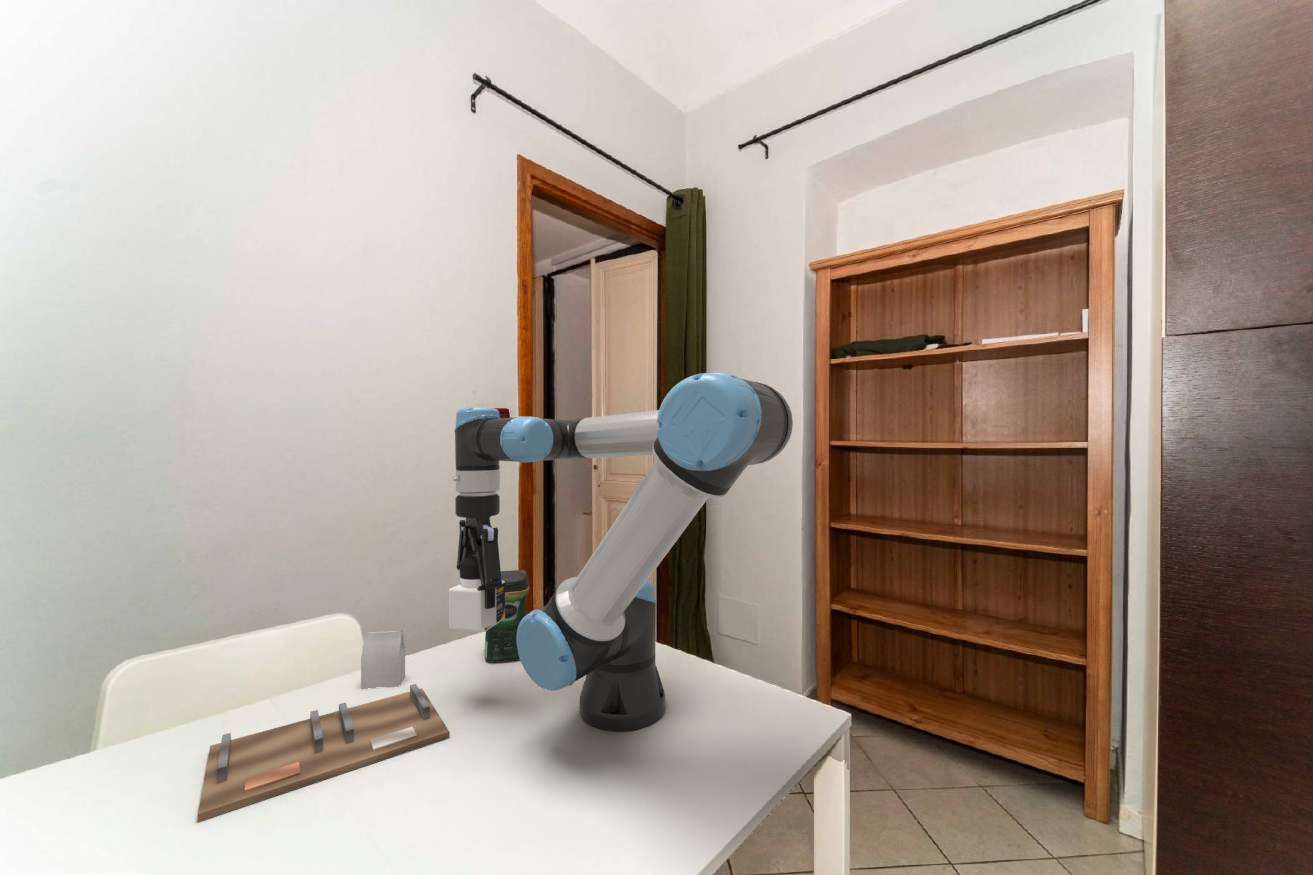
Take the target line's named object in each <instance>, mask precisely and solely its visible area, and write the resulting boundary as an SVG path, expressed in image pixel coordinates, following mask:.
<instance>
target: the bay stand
mask: <svg viewBox="0 0 1313 875" xmlns="http://www.w3.org/2000/svg"><path fill="white" fill-rule="evenodd" d="M346 702H347V701H346ZM346 702H343V703H339V704H338V710H337V711H333V712H329V713H326V714H321V715H319V711H318V709H315V710H312V711H309V712H310V713H309V714H310V715H309V716H310V717H309V718H307V719H303V720H301V721H297V722H294V723H289V724H285V725H281V726H277V727H275V728H270V729H266V730H263V731H258V732H256V733H252V734H249V735H244V736H240V737H236V738H234V739H232V732H229V733H225V734H222V735H221V742H219V743H214V744H211V745H209V750H208V754H207V760H206V767H205V772H204V777H203V784H202V788H201V793H200V799H199V805H198V810H197V823H200V822H202V821H206V820H208V819H212V818H215V817H217V816H221V815H224V814H227V813H230V812H232V811H236V810H239V809H241V808H245V807H247V806H251V805H253V804H256V803H260V802H262V801H265V800H269V799H271V798H273V797H278V796H280V795H283V794H287V793H289V792H292V791H295V790H298V789H301V788H304V787H306V786H310V785H313V784H317V783H319V782H322V781H325V780H327V779H331V778H333V777H337V776H340V775H343V774H346V773H349V772H351V771H354V770H357V769H358V770H359V769H360V768H363V767H366V766H369V765H370V766H371V765H372V764H375V763H379V762H381V761H384V760H388V759H390V758H393V757H396V756H399V755H402V754H405V753H408V752H412V751H414V750H417V749H420V748H424V747H425V746H429V745H431V744H435V743H438V742H441V741H444V740H448V739H450V730H449V728H448V727H447V725H446V724H445V722H444V720H443V718H442V717H441V716H440V714H439V712H438V711H437V709H436V708H435V707H434V704H433V703H432V702H431V700H430V698H429V697H428V696H427V694H426V692H425V690H424V689H423V688H422V687H421V688H419V687H418V685H417V683H415V684H414V683H413V684H410V685H409V691H406V692H403V693H400V694H396V695H392V696H388V697H384V698H382V699H378V700H373V701H370V702H366V703H363V704H359V705H356V706H351V707H348V704H347V703H346Z"/></svg>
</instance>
